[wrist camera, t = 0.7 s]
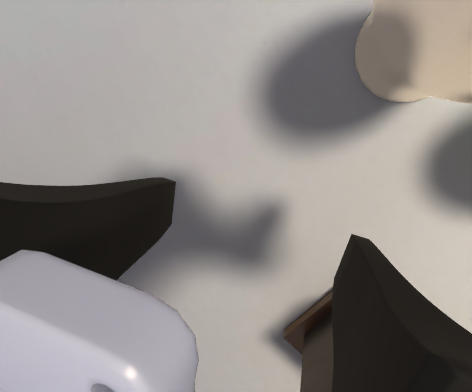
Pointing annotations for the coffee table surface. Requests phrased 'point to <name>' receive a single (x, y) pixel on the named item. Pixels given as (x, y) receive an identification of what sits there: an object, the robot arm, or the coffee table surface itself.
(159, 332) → the robot arm
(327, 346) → the walnut book board
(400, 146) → the coffee table surface
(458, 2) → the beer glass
